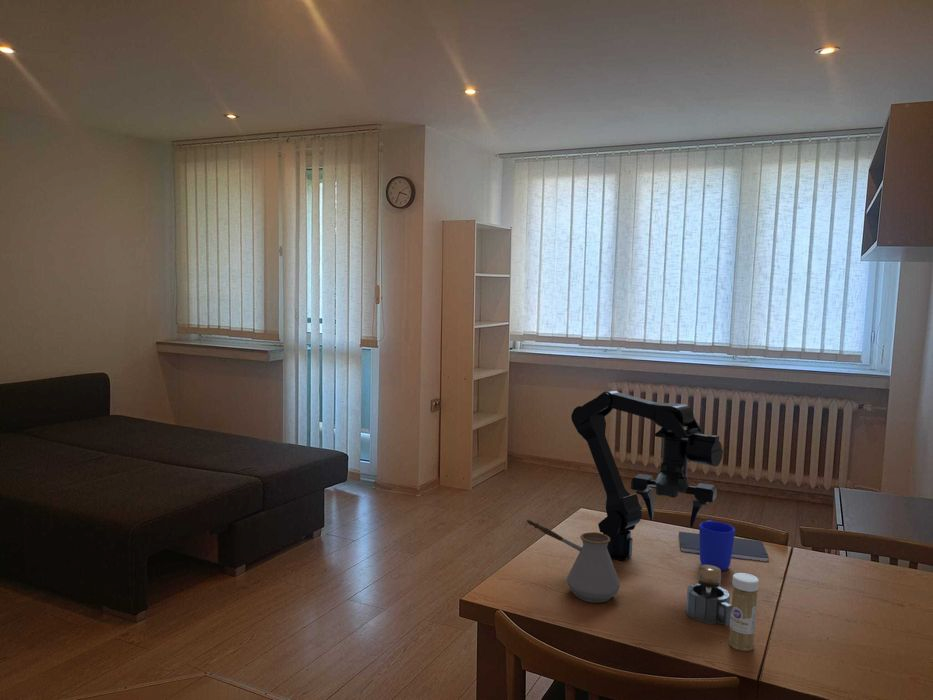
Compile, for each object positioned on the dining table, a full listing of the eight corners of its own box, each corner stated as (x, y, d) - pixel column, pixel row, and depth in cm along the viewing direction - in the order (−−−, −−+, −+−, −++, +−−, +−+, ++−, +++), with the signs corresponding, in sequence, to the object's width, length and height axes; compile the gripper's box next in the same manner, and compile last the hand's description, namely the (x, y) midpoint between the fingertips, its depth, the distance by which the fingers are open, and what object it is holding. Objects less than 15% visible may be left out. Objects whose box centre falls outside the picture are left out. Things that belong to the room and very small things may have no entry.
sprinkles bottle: (724, 646, 130) (729, 576, 129) (733, 637, 133) (737, 569, 132) (749, 655, 127) (754, 583, 126) (757, 646, 131) (762, 576, 129)
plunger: (691, 604, 144) (693, 566, 143) (708, 602, 146) (711, 563, 145) (705, 614, 140) (708, 574, 139) (723, 611, 141) (725, 571, 141)
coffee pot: (620, 588, 155) (624, 522, 154) (618, 610, 144) (621, 539, 142) (526, 575, 160) (529, 511, 159) (517, 595, 149) (519, 527, 148)
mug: (723, 555, 176) (725, 517, 176) (736, 574, 165) (739, 533, 164) (690, 553, 177) (692, 515, 176) (701, 572, 165) (703, 531, 164)
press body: (678, 608, 145) (679, 585, 145) (709, 603, 148) (710, 581, 148) (711, 631, 136) (713, 606, 135) (743, 625, 139) (745, 601, 138)
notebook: (761, 546, 186) (678, 536, 191) (761, 540, 186) (678, 531, 191) (769, 563, 173) (680, 553, 179) (769, 557, 173) (680, 547, 179)
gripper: (625, 459, 160) (622, 525, 161) (710, 471, 151) (706, 541, 152) (638, 450, 169) (635, 512, 171) (718, 461, 160) (715, 527, 162)
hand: (671, 523), depth 163 cm, fingers open, 9 cm apart
